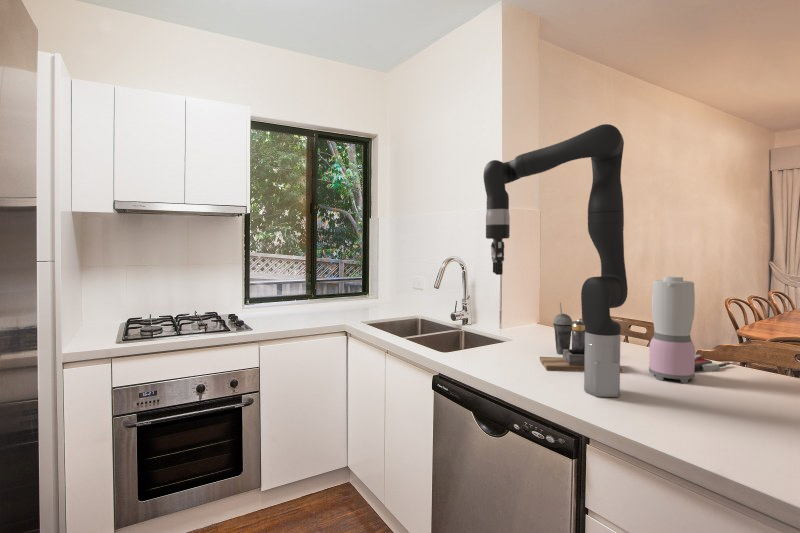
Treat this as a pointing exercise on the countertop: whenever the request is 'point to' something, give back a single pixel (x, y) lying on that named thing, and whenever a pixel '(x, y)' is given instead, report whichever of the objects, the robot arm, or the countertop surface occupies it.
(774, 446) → the countertop surface
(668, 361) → the blender
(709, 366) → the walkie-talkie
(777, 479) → the countertop surface
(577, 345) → the cell
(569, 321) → the beverage cup
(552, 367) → the wood and grey block
